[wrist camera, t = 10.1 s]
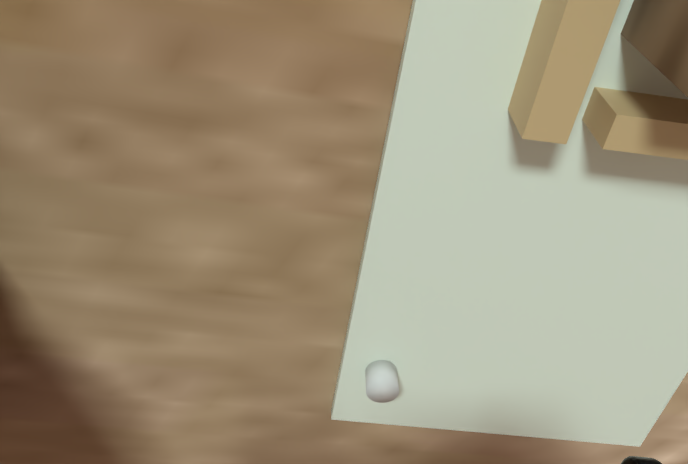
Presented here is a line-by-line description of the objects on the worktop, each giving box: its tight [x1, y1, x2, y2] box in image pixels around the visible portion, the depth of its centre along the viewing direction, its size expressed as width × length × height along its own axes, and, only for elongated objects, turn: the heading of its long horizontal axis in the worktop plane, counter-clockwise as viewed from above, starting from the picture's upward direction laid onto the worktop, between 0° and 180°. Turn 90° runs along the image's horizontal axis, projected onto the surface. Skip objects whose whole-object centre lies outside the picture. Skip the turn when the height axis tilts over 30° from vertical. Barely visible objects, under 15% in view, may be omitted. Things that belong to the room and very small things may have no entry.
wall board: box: [331, 0, 688, 447], centre depth 18 cm, size 13×29×3 cm, turn 172°
